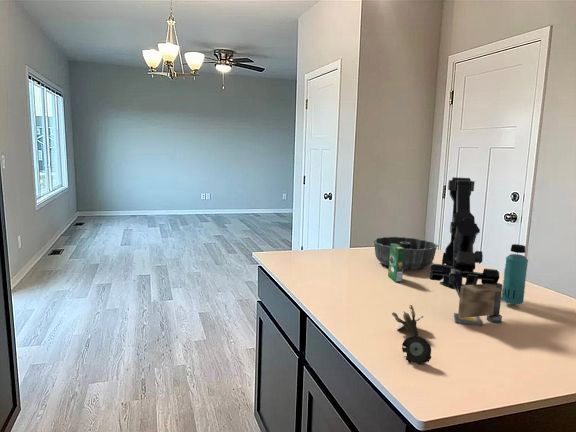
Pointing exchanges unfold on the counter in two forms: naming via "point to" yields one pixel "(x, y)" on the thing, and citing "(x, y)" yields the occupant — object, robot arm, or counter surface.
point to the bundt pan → (406, 251)
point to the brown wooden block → (480, 300)
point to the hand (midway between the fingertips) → (463, 301)
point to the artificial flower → (414, 340)
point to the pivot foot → (494, 318)
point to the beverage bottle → (515, 276)
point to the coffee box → (396, 262)
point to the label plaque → (468, 320)
